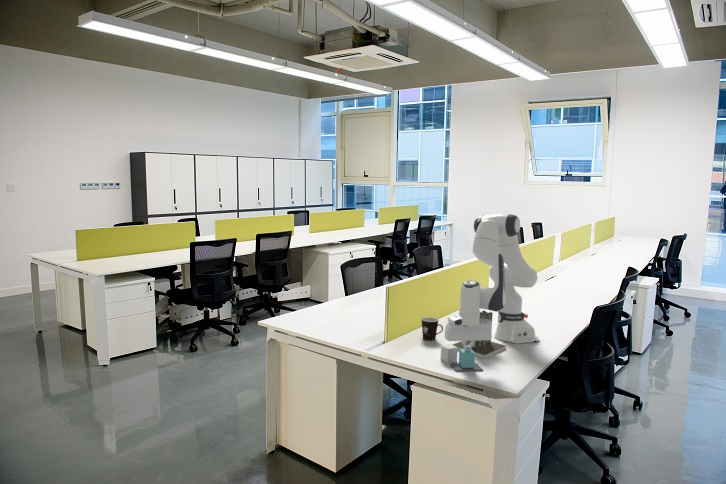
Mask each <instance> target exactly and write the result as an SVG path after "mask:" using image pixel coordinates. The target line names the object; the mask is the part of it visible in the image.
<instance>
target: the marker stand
mask: <svg viewBox="0 0 726 484" xmlns="http://www.w3.org/2000/svg"><path fill="white" fill-rule="evenodd" d="M449 365H450V367H451V368H452V369H453V370H454V371H455V373H457V372H458V373H459V372H460V373H461V372H483V371H484V369H483V368H482V367H481V366H480V365H479V364H478V363H477V362H475V365H474V368H462V367H461V366H460V364H459V362H453V363H449Z"/></svg>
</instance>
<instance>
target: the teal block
mask: <svg viewBox="0 0 726 484" xmlns="http://www.w3.org/2000/svg"><path fill="white" fill-rule="evenodd" d="M458 352H459V353H458V363H459V364H460V366H461V367H462V368H474V365H475V363H476V361H475V360H476V356H475V352H474V351H473V350H472V349H471V350H466V351H465V350H464V349H459V351H458Z"/></svg>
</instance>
